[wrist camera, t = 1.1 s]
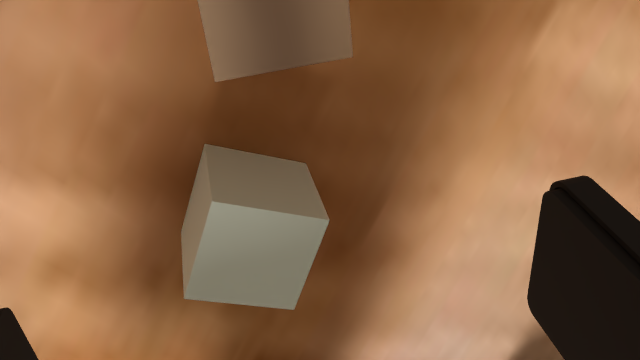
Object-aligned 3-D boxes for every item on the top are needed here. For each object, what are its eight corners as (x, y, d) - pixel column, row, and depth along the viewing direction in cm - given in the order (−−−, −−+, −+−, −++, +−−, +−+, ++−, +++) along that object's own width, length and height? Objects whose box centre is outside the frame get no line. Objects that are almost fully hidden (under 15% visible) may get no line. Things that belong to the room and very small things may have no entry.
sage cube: (305, 162, 35) (329, 220, 30) (276, 244, 37) (293, 310, 32) (204, 143, 33) (212, 201, 28) (180, 230, 35) (183, 298, 30)
